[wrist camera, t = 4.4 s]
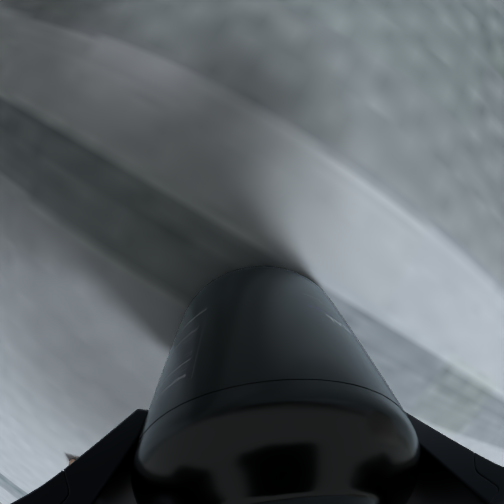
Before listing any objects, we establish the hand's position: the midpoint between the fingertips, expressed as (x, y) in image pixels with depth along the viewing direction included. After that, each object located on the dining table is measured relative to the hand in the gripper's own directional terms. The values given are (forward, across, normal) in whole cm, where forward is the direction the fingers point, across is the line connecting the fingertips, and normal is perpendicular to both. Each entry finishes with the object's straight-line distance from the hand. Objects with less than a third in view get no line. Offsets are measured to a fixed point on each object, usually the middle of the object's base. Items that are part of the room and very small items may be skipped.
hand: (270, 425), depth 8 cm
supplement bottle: (+6, 0, 0) cm, 6 cm away
